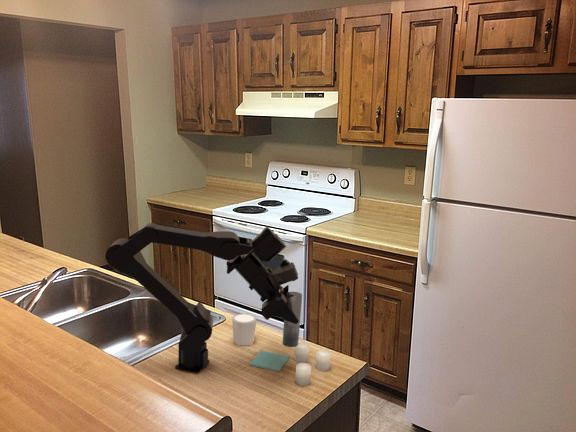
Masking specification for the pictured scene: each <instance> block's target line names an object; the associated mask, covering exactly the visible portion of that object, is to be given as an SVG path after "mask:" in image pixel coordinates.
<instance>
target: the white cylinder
mask: <svg viewBox="0 0 576 432" xmlns="http://www.w3.org/2000/svg"><path fill="white" fill-rule="evenodd" d="M231 321H232V322H231V323H232V333H233V334H232V336H233V343H234V344H235V345H236V346H244V347H246V346H250V345H253V343H254V341H255V334H256V327H257V316H255V315H254V314H251V313H238V314H234V315H233V316H232V317H231Z"/></svg>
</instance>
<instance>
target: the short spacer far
mask: <svg viewBox="0 0 576 432" xmlns="http://www.w3.org/2000/svg"><path fill="white" fill-rule="evenodd" d="M331 355H332V353H331V351H329V350H326V349H319V350H317V351H316V358H315V369H316V370H317V371H320V372H328V371H330V368H331Z"/></svg>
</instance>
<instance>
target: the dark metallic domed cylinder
mask: <svg viewBox="0 0 576 432" xmlns="http://www.w3.org/2000/svg"><path fill="white" fill-rule="evenodd" d="M287 296H288V305H289V307H290V308H291V310H292V311H293V312H294V314H295V315H296V317H297V319H298V320H299V322H298V323H297V324H294V323H291V322H289V321H286V320H284V319H283V331H282V345H283V346H285V347H287V348H295V347H296V346H298V343H299V339H300V327H301V326H300V325H301V317H302V315H301V314H302V303H303V294H302V292H299V291H298V292H297V291H288V292H287V293H286V297H287Z"/></svg>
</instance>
